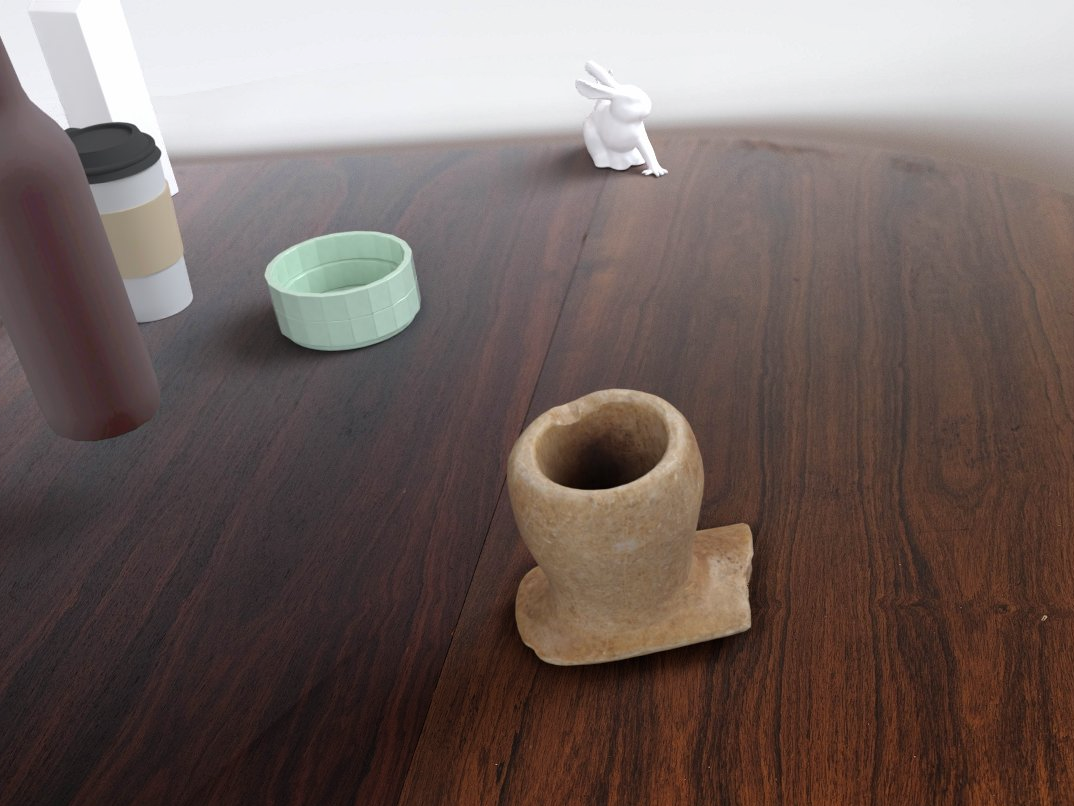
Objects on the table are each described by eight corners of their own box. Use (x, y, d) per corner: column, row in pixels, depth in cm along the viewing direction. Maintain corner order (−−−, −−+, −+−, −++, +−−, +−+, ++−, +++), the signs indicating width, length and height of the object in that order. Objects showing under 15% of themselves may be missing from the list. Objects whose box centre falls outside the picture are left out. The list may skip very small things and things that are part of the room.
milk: (135, 187, 138) (57, -47, 122) (180, 192, 135) (107, -46, 120) (97, 210, 134) (12, -29, 118) (143, 216, 132) (63, -27, 116)
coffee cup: (223, 283, 118) (171, 112, 108) (174, 330, 112) (114, 154, 102) (137, 279, 120) (78, 111, 110) (85, 325, 114) (17, 152, 104)
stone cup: (530, 713, 73) (493, 491, 63) (511, 587, 82) (475, 373, 72) (792, 671, 74) (797, 444, 64) (746, 550, 83) (743, 333, 72)
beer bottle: (133, 372, 90) (-49, -136, 69) (183, 412, 85) (5, -118, 64) (30, 415, 87) (-194, -104, 66) (77, 458, 82) (-148, -83, 61)
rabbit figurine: (669, 175, 128) (664, 71, 121) (597, 191, 126) (588, 87, 120) (626, 137, 136) (620, 37, 129) (559, 151, 135) (548, 51, 128)
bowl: (250, 336, 110) (234, 280, 107) (344, 276, 117) (331, 222, 114) (359, 365, 105) (345, 307, 101) (450, 300, 112) (440, 244, 108)
